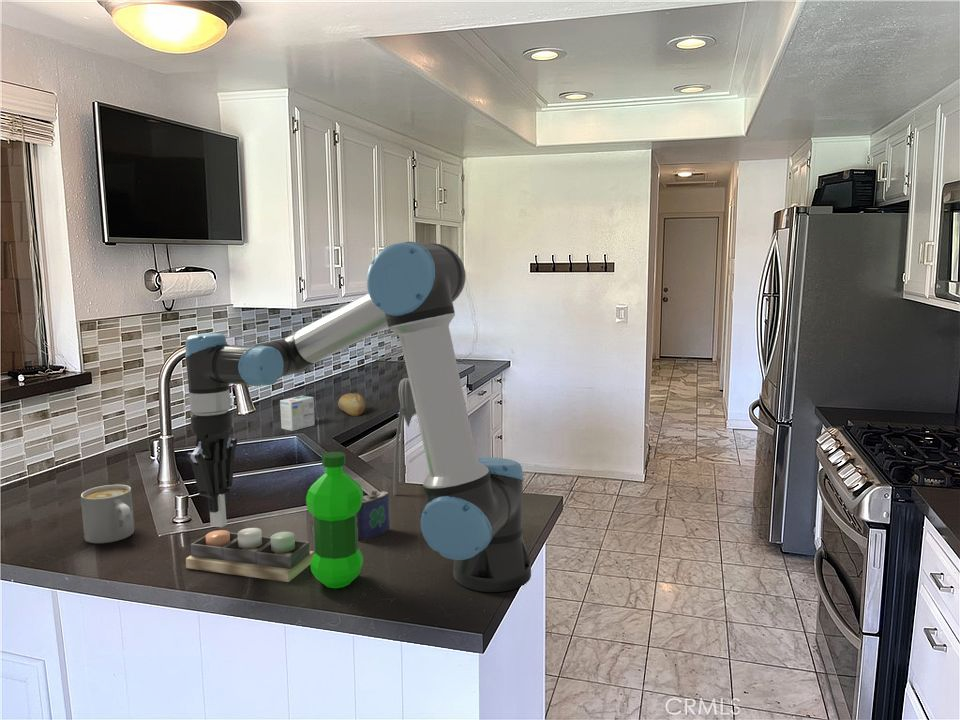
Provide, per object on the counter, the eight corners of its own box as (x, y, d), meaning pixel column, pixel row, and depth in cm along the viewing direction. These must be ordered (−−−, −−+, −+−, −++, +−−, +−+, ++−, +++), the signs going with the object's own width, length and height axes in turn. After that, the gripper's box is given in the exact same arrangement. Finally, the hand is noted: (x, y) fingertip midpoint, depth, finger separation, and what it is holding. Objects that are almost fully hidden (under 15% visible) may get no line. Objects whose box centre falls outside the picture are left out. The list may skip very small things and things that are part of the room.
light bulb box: (303, 423, 264) (302, 394, 262) (315, 425, 260) (314, 396, 258) (280, 428, 255) (279, 399, 254) (292, 431, 251) (291, 401, 250)
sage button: (299, 544, 141) (299, 532, 141) (287, 554, 136) (286, 541, 136) (279, 542, 142) (278, 530, 142) (266, 551, 138) (265, 539, 137)
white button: (266, 540, 143) (266, 529, 143) (253, 549, 139) (252, 537, 138) (246, 538, 144) (246, 526, 144) (233, 547, 140) (232, 535, 139)
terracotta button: (235, 543, 145) (234, 531, 145) (221, 551, 141) (220, 539, 140) (215, 540, 146) (215, 529, 146) (201, 549, 142) (200, 537, 142)
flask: (384, 527, 161) (383, 482, 160) (393, 530, 160) (392, 485, 158) (354, 540, 154) (353, 493, 152) (364, 543, 152) (362, 496, 151)
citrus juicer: (399, 481, 194) (397, 374, 190) (435, 482, 194) (434, 374, 190) (393, 495, 183) (390, 382, 179) (431, 495, 183) (429, 382, 178)
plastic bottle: (326, 567, 140) (321, 445, 137) (374, 574, 137) (371, 450, 134) (299, 590, 131) (293, 459, 127) (350, 597, 128) (346, 464, 124)
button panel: (314, 560, 144) (313, 539, 143) (288, 582, 134) (287, 559, 133) (217, 548, 150) (216, 528, 149) (186, 568, 140) (184, 546, 140)
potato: (355, 408, 290) (354, 389, 288) (370, 415, 277) (370, 395, 276) (333, 411, 284) (332, 391, 283) (347, 418, 272) (347, 397, 271)
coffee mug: (78, 534, 158) (74, 491, 156) (125, 522, 165) (122, 481, 163) (97, 552, 148) (93, 506, 147) (146, 538, 155) (143, 495, 154)
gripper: (215, 404, 147) (222, 512, 150) (172, 417, 134) (181, 535, 138) (246, 405, 145) (253, 515, 148) (205, 419, 132) (214, 539, 136)
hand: (218, 525), depth 143 cm, fingers closed
